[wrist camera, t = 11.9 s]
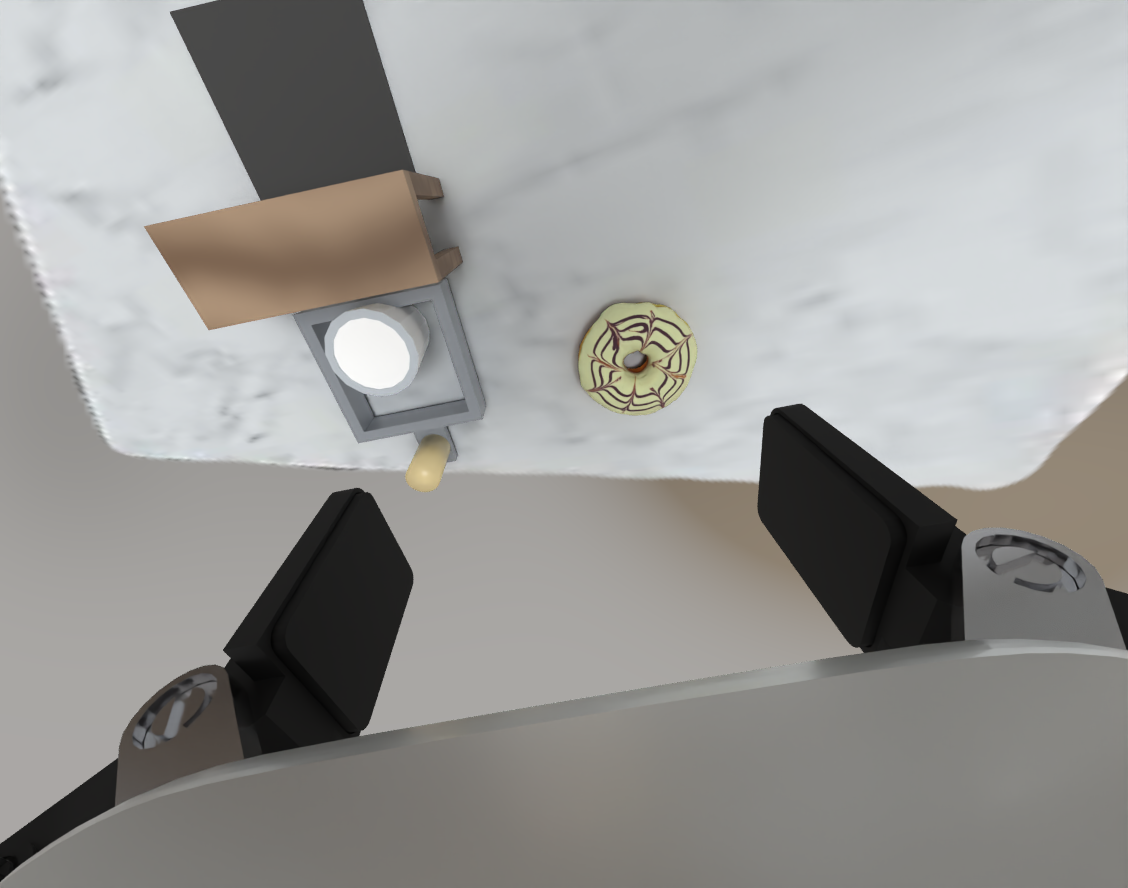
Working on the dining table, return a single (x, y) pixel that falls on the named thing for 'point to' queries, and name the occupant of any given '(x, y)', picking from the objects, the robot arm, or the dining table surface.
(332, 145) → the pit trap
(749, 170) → the dining table surface
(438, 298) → the slider
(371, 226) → the tunnel
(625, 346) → the decorated donut
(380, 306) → the white cylinder
